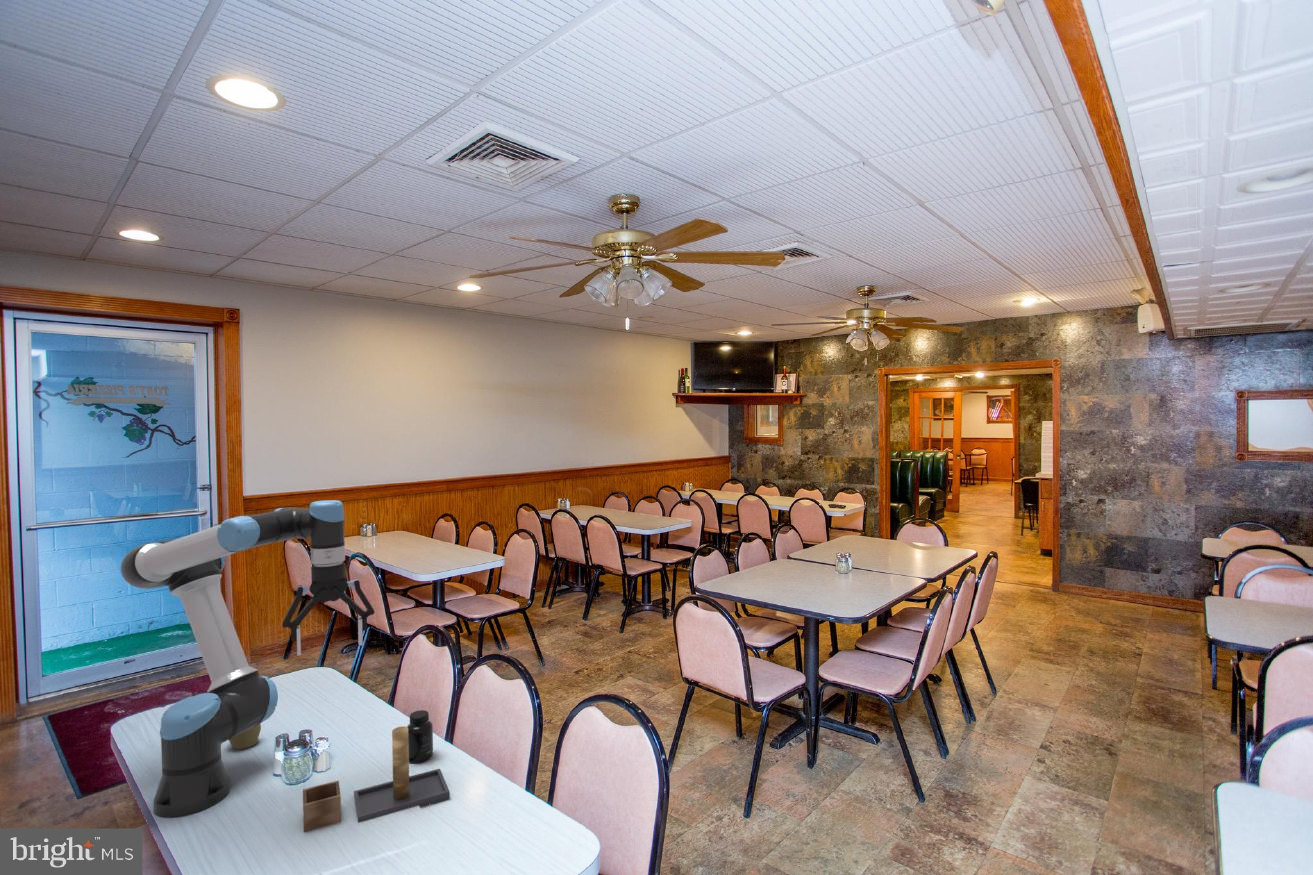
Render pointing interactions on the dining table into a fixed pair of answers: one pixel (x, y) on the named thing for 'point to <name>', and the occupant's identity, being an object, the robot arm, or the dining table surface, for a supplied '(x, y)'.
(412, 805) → the tray
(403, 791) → the dowel
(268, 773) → the dining table surface
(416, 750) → the supplement bottle
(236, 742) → the squeeze bottle
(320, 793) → the box
